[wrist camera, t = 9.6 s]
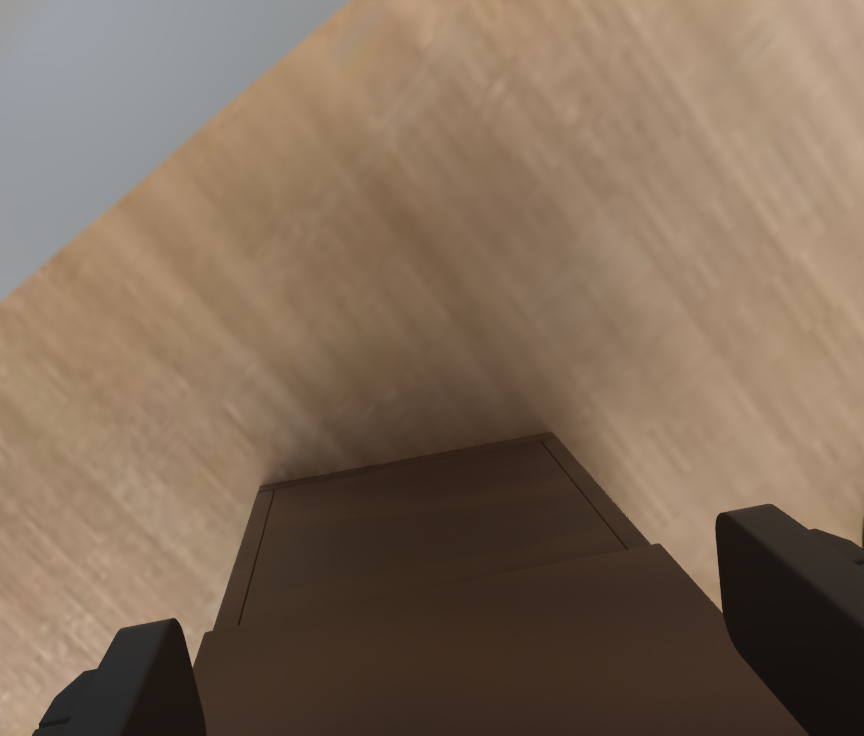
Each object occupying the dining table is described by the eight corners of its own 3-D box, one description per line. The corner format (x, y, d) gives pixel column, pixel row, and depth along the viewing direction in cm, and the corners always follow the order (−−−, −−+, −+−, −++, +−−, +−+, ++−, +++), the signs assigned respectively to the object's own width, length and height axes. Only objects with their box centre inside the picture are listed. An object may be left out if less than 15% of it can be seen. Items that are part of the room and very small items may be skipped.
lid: (1280, 1293, 8) (1324, 866, 7) (-103, 1668, 7) (-312, 1251, 6) (662, 566, 24) (645, 401, 23) (210, 656, 23) (169, 489, 22)
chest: (591, 725, 40) (699, 960, 28) (323, 781, 39) (310, 1050, 27) (552, 431, 37) (655, 548, 24) (259, 486, 36) (209, 635, 24)
